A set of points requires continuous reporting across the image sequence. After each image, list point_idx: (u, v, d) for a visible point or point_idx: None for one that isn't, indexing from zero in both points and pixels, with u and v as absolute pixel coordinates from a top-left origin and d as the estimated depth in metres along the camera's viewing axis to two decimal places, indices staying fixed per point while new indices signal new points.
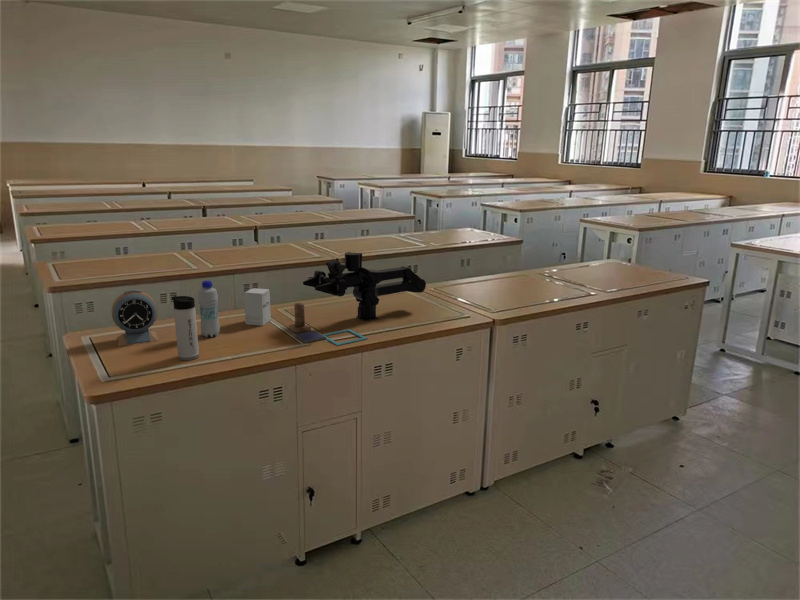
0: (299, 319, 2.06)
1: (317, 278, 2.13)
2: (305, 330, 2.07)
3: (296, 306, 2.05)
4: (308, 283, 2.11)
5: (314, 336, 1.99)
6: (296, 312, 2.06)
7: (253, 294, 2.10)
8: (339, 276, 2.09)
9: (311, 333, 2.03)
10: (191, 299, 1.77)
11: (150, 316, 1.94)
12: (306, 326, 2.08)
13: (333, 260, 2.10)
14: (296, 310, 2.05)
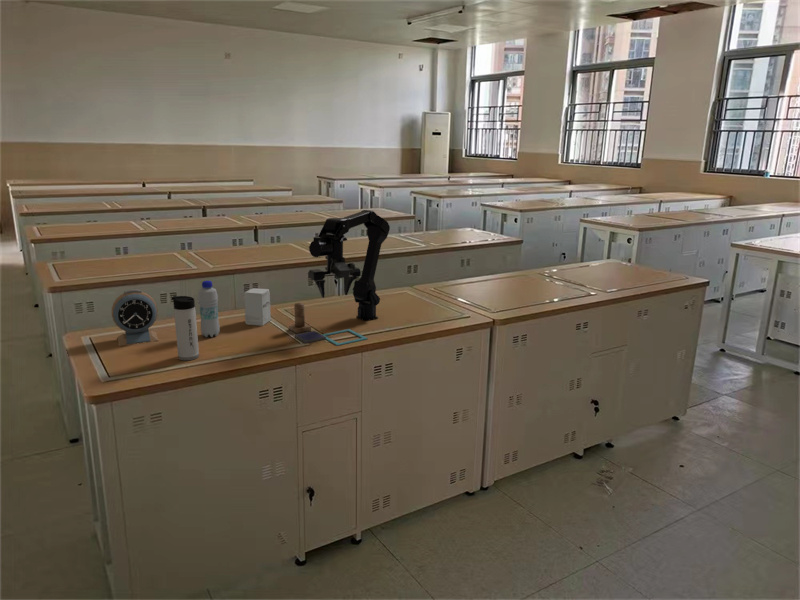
0: (299, 319, 2.06)
1: None
2: (305, 330, 2.07)
3: (296, 306, 2.05)
4: None
5: (314, 336, 1.99)
6: (296, 312, 2.06)
7: (253, 294, 2.10)
8: None
9: (311, 333, 2.03)
10: (191, 299, 1.77)
11: (150, 316, 1.94)
12: (306, 326, 2.08)
13: (344, 272, 1.97)
14: (296, 310, 2.05)
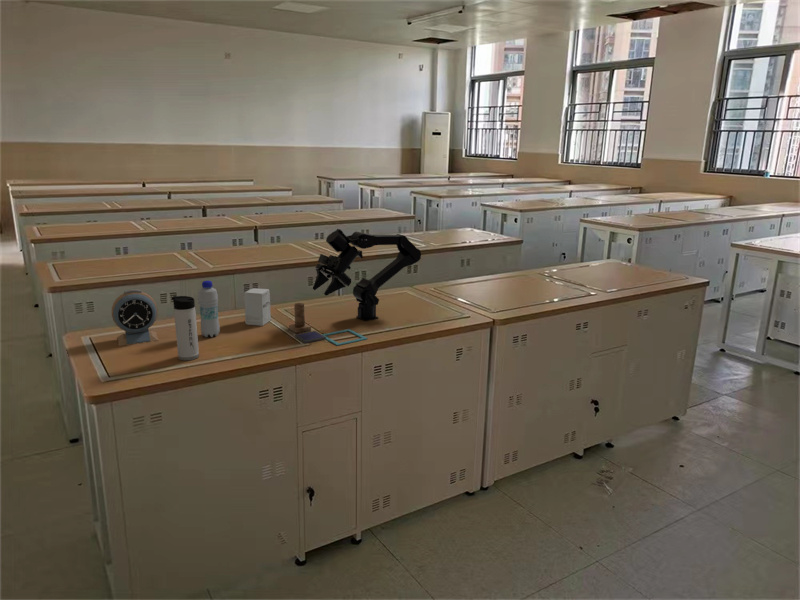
0: (299, 319, 2.06)
1: (321, 274, 2.14)
2: (305, 330, 2.07)
3: (296, 306, 2.05)
4: (317, 285, 2.14)
5: (314, 336, 1.99)
6: (296, 312, 2.06)
7: (253, 294, 2.10)
8: (336, 265, 2.08)
9: (311, 333, 2.03)
10: (191, 299, 1.77)
11: (150, 316, 1.94)
12: (306, 326, 2.08)
13: (321, 256, 2.07)
14: (296, 310, 2.05)
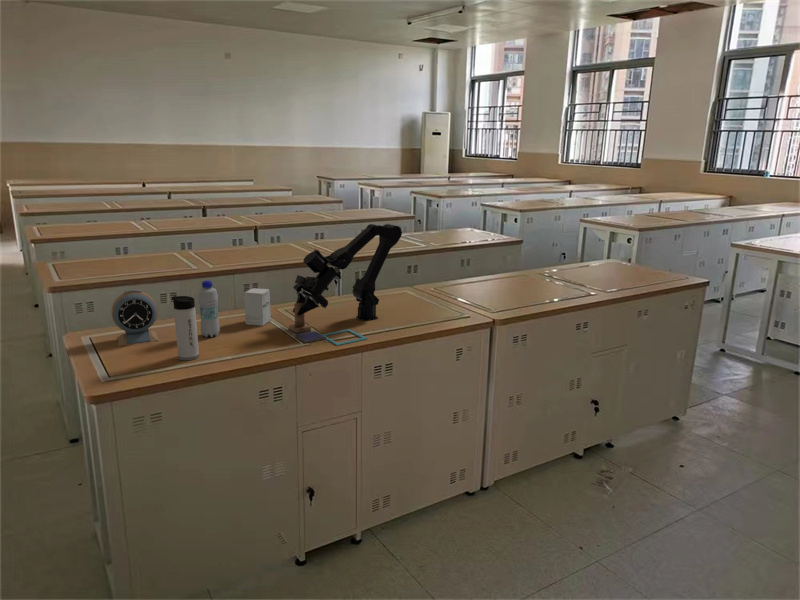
0: (299, 319, 2.06)
1: (302, 297, 2.09)
2: (305, 330, 2.07)
3: (296, 306, 2.05)
4: None
5: (314, 336, 1.99)
6: (296, 312, 2.06)
7: (253, 294, 2.10)
8: (313, 287, 2.05)
9: (311, 333, 2.03)
10: (191, 299, 1.77)
11: (150, 316, 1.94)
12: (306, 326, 2.08)
13: (298, 277, 2.04)
14: (296, 310, 2.05)
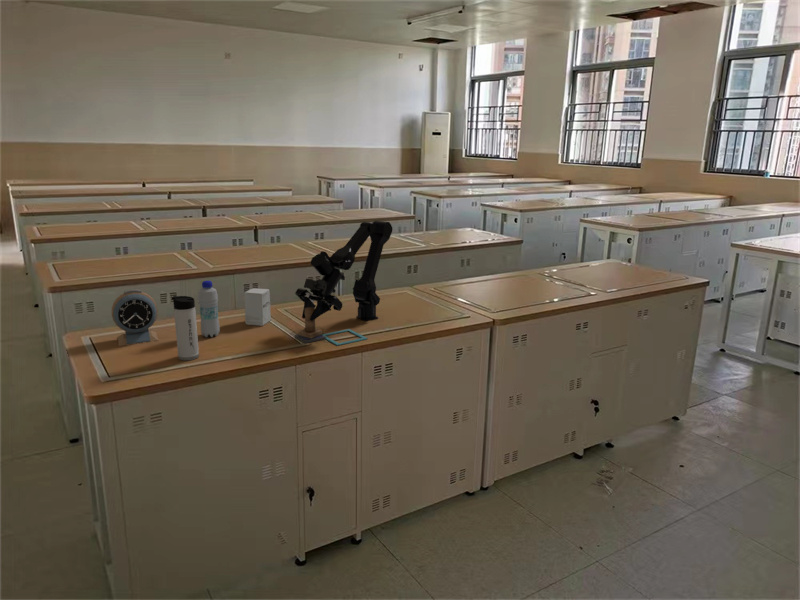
0: (311, 324, 1.98)
1: (309, 301, 2.00)
2: (318, 334, 1.99)
3: (308, 311, 1.96)
4: None
5: None
6: (308, 317, 1.97)
7: (253, 294, 2.10)
8: (324, 290, 1.98)
9: None
10: (191, 299, 1.77)
11: (150, 316, 1.94)
12: (317, 330, 2.00)
13: (308, 281, 1.95)
14: (308, 315, 1.97)
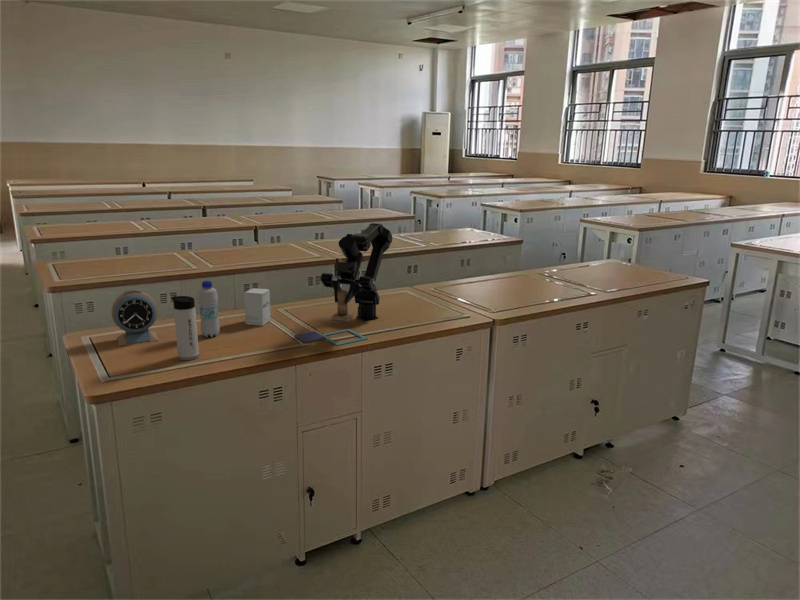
0: (345, 307, 1.98)
1: (338, 285, 2.00)
2: (351, 317, 2.00)
3: (342, 294, 1.96)
4: None
5: (314, 336, 1.99)
6: (342, 300, 1.97)
7: (253, 294, 2.10)
8: (354, 272, 1.99)
9: (311, 333, 2.03)
10: (191, 299, 1.77)
11: (150, 316, 1.94)
12: (349, 313, 2.01)
13: (341, 264, 1.95)
14: (342, 298, 1.96)
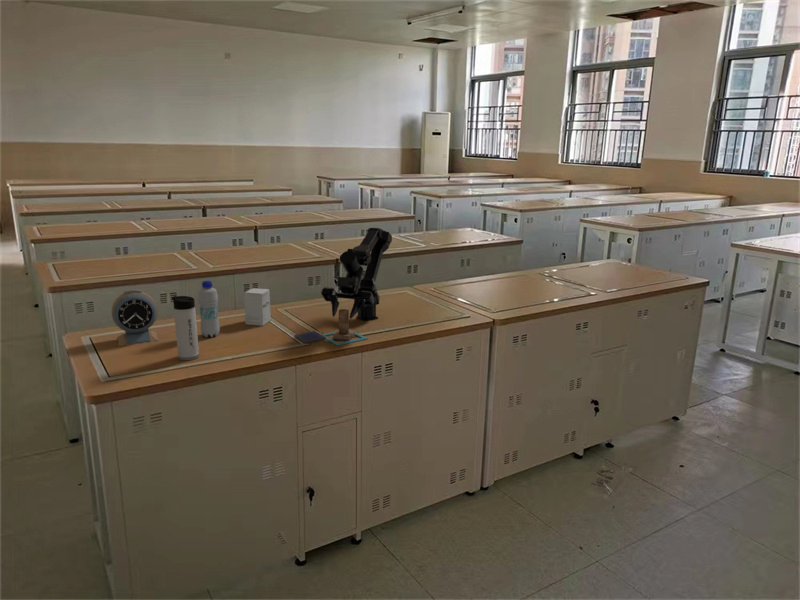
0: (347, 325, 2.00)
1: (336, 299, 2.01)
2: (352, 336, 2.02)
3: (344, 313, 1.98)
4: (335, 311, 2.00)
5: (314, 336, 1.99)
6: (344, 319, 1.99)
7: (253, 294, 2.10)
8: (355, 286, 2.01)
9: (311, 333, 2.03)
10: (191, 299, 1.77)
11: (150, 316, 1.94)
12: (350, 332, 2.03)
13: (342, 279, 1.96)
14: (344, 317, 1.98)
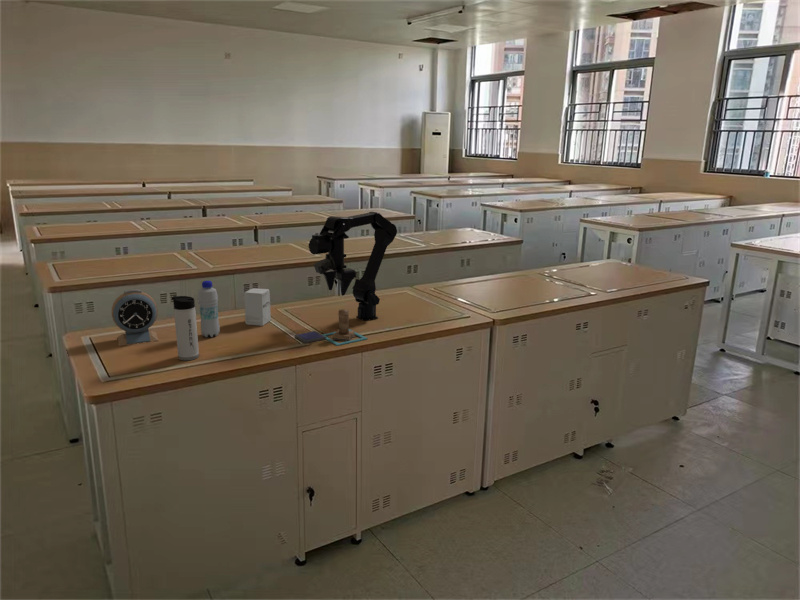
0: (347, 325, 2.00)
1: (327, 274, 2.13)
2: (352, 336, 2.02)
3: (344, 313, 1.98)
4: (331, 284, 2.14)
5: (314, 336, 1.99)
6: (344, 319, 1.99)
7: (253, 294, 2.10)
8: (333, 265, 2.05)
9: (311, 333, 2.03)
10: (191, 299, 1.77)
11: (150, 316, 1.94)
12: (350, 332, 2.03)
13: (316, 267, 2.04)
14: (344, 317, 1.98)
